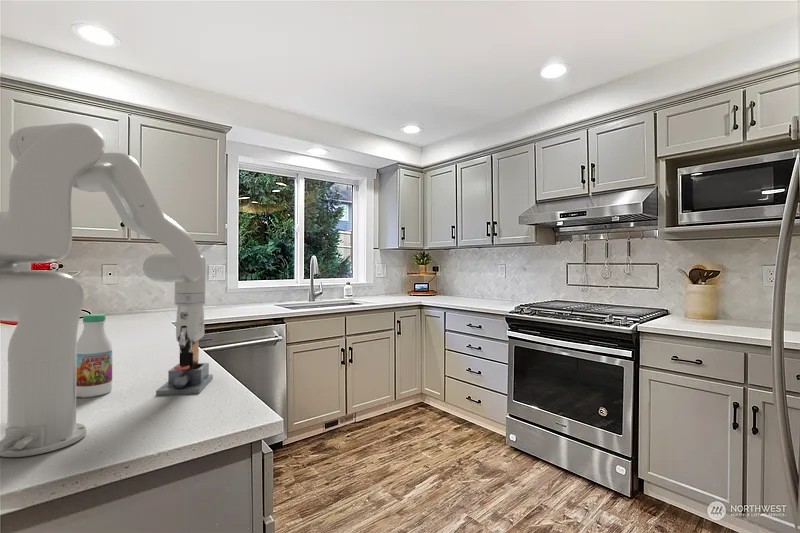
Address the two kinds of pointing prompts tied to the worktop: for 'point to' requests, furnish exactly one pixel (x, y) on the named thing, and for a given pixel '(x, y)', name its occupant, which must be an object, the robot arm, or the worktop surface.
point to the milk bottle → (94, 358)
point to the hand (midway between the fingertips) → (189, 364)
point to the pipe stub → (194, 354)
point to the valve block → (186, 380)
